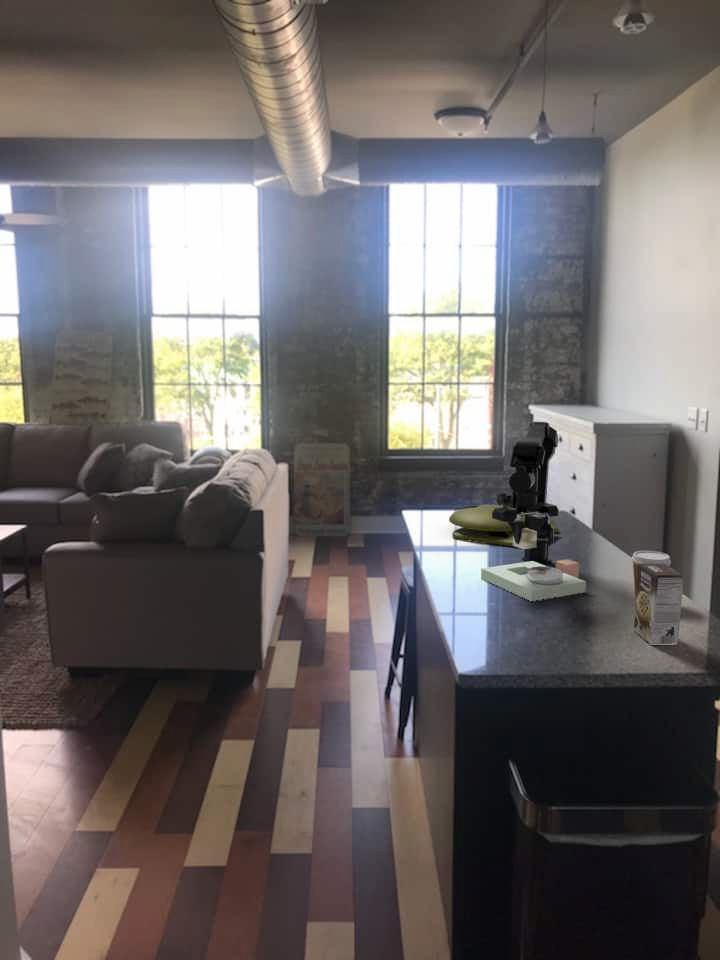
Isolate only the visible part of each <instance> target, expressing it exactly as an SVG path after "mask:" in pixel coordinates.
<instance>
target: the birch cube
mask: <svg viewBox="0 0 720 960" xmlns="http://www.w3.org/2000/svg"><path fill="white" fill-rule="evenodd" d="M536 542H537V531H534V530H531V529H527V528H523V529H522V533H521V539H520V542H519V544H516V543H515V540H514V537H513V546H515V547H514V548H516V547H518V548H517V549H520V550H525V549H529V548H536Z"/></svg>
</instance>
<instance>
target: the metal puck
mask: <svg viewBox="0 0 720 960" xmlns="http://www.w3.org/2000/svg"><path fill="white" fill-rule="evenodd" d="M528 581H530V582H532V583H535V584H539V585H558V584H561V583H562V582H563V571H562V570H560V569H557V568H556V567H552V566H547V567H532V568H529V569H528Z"/></svg>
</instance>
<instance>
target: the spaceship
mask: <svg viewBox="0 0 720 960" xmlns="http://www.w3.org/2000/svg"><path fill="white" fill-rule="evenodd" d="M502 507H503V505H500V506H499V505H498V504H475V505H470V506H465V507H463V508H460V509H458V510H456V511H454V512H453V513H451V515H450V516H449V517H448V521H449V522H450V524H452V525H454V526H457V527H461V528H463V529H467V530H468V529H470V530H475V531H483V532H485V531H486V532H504V533H505V534H506V535H508V536H507V537H504V536H496V535H488V534H481V533H474V532H468V531H455V532H453V533H452V535H451V536H452V537H453V538H454V539H455V538H456V539H455V540H460V539H462V540H461V541H467V540H471V541H470V542H474V541H477V542H476V543H481V542H485V543H484V544H488V543H491V544H490V545H495V544H498V545H497V546H502V545H504V546H503V547H509V546H511V547H510V548H516V547H515V546H513V533H512V530H511V528H510V526H509V524H508V523H507V522H503V521H500V520H496V519H493V518H492V512H493V510H494V509H495V508H502ZM509 509H513V510H515V509H514V508H509ZM521 513H523V512H521ZM520 520H521V521H525V516H520ZM550 524H552V528H553V530H554V534H558V533H559V532H560V529H559V527H558V526H555V525H556V522H555V521H554V520H553V519H551V518H550ZM516 549H519V548H518V547H517V548H516Z"/></svg>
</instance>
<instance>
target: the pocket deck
mask: <svg viewBox="0 0 720 960" xmlns="http://www.w3.org/2000/svg"><path fill="white" fill-rule="evenodd" d="M532 567H548V565H544V564H543V563H540V564H539V563H537V562H534V561H529V562H528V561H523V562H516V563H510V564H504V565H496V566H489V567H483V568H482V567H481V570H480V571H481V572H480V579H481V580H483V581H484V582H487V583H489V582H490V583H489V584H491V583H492V584H491V585H493V584H495V585H494V586H496V585H497V586H496V587H498V586H499V587H498V588H500V587H501V588H500V589H502V588H503V589H502V590H504V589H505V591H507V590H508V591H507V592H509V593H511V592H512V593H511V594H513V593H514V594H513V595H515V594H516V596H517V595H518V597H520V598H522V597H523V598H522V599H524V598H525V599H524V600H526V599H527V601H528V600H529V602H531V601H533V602H537V601H536V600H538V601H543V600H542V599H544V600H549V598H550V599H554V597H556V598H560V597H567V596H572V594H573V595H577V594H578V593H579V594H583V593H586V590H587V589H586V587H587V581H586V580H583V579H581V578H576V577H573V576H571V575H568V574H565V573H563V582H562V583H561V584H558V585H539V584H535V583H532V582H530V581H528V569H529V568H532ZM566 595H567V596H566Z"/></svg>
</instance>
